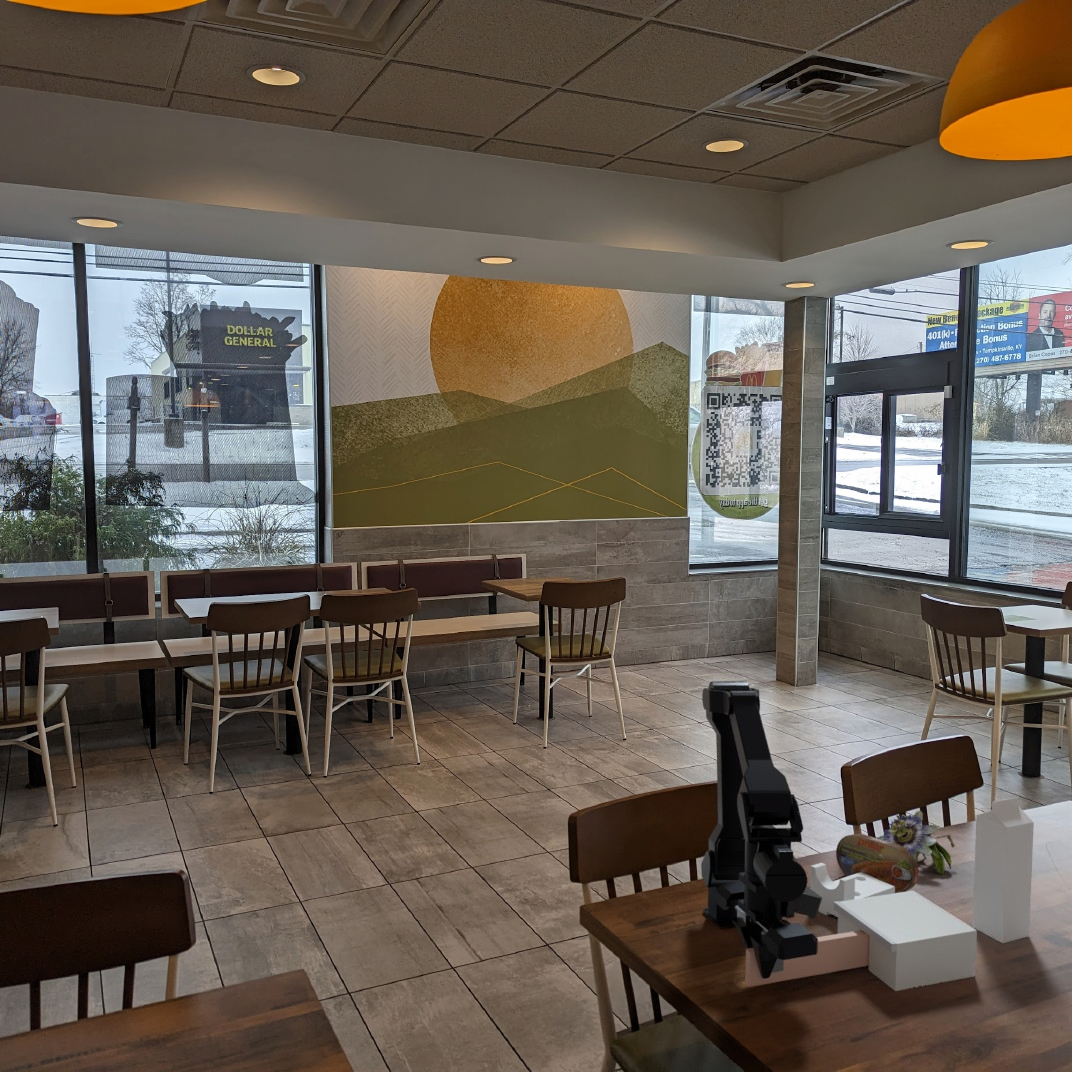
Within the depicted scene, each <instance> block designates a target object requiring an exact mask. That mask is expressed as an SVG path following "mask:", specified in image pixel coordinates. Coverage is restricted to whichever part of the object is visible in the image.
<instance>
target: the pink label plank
mask: <svg viewBox="0 0 1072 1072" xmlns="http://www.w3.org/2000/svg"><path fill="white" fill-rule="evenodd" d="M815 937H816V938H817V939H818V952H817V954H816V955H811V956H805V957H799V958H793V959H788V960H781V959H778V958H777V960H776V963H775V965H774V968H773V970H772V973H771V975H770V977H769V978H765V979H763V978H762V976H761V973H760V970H759V967H758V963H757V959H756V956H755V952H754V948H748V949H746V948H745V976H744V977H745V981H744V983H746V985H748V987H753V986H761V985H766V984H771V983H777V982H782V981H784V982H785V981H788V980H789V981H790V980H795V979H800V978H806V977H810V976H811V977H812V976H816V975H817V976H818V975H823V974H829V973H834V972H841V971H845V970H851V969H858V968H862V967H867V966H868V967H869V941H870V936H869V935H868V934H866V933H865V932H864V931H862V930H859V931H853V932H847V933H841V934H837V933H836V934H830V935H823V936H818V937H817V936H815Z"/></svg>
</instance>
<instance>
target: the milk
mask: <svg viewBox="0 0 1072 1072" xmlns="http://www.w3.org/2000/svg"><path fill="white" fill-rule="evenodd" d="M1019 804H1020V799H1019V797H1018V796H1016V797H1010V798H1006V799H1000V800H995V801H992V803H991V810H990V811H987V812H982V813H980V814H977V815H976V818H975V819H976V820H975V845H974V846H975V847H974V850H975V851H974V875H973V897H972V898H973V900H972V926H971V927H972V928H974V929H975V930H977V932H978V931H979V932H980V933H982V934H984V935H986V936H988V937H990V938H991V939H994V940H995V941H998V942H999V943H1001V944H1006V943H1010V942H1014V941H1017V940H1021V939H1024V938H1028V937H1030V925H1031V921H1030V919H1031V896H1032V876H1033V875H1032V871H1033V854H1034V853H1033V847H1034V821H1033V820H1032V819H1031V818H1030V817H1029V815H1028V814H1027V813H1026V812H1025V811H1024V810H1023V809H1022V808H1021V807H1020V806H1019Z"/></svg>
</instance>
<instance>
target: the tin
mask: <svg viewBox="0 0 1072 1072" xmlns="http://www.w3.org/2000/svg"><path fill="white" fill-rule="evenodd" d="M877 838H878V837H873V836H870V835H866V834H863V833H854V834H848V835H846V836H843V837H842V838H841V839H840V840H839V841H838V844H837V846H836V851H835V855H836V856H835V857H836V862H837V864H838V866H839V868H840V870H841V872H842V873H843V874H844V875H845V877H847V876H850V875H854V874H857V873H860V872H862V873H865V874H867V875H869V876H871V877H874V878H876V879H878V880H881V881H883V882H885V883H888V884H890V885H892V886H895V893H900V892H907V891H911V889H912V888H914V887H915V886H916V884H917V882H918V880H919V879H918V878H919V866H918V861H917V862H916V860H915V858H914V857H913V855H912V854H911V853H910V852H909V851H908V850H907V849H906V848H904V847H902V846H900V845H897V844H894V843H890V842H887V841H884V840H880V839H877Z"/></svg>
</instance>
